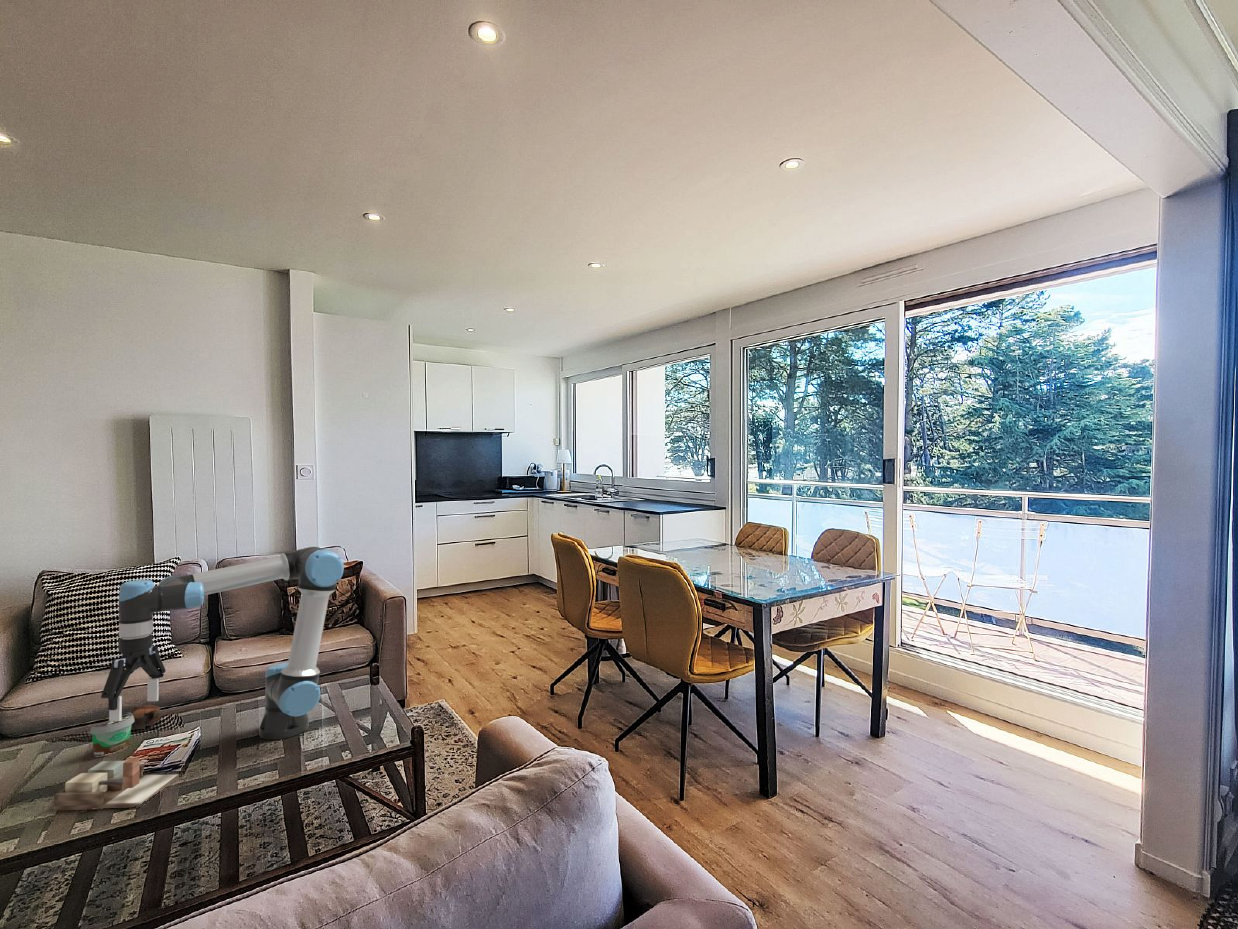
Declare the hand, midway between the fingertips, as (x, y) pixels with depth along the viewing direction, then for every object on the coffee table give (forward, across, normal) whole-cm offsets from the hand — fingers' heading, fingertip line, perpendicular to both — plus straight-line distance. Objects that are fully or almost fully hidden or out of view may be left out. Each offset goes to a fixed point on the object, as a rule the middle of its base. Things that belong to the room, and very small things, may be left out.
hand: (134, 710), depth 167 cm
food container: (+23, -24, -24) cm, 41 cm away
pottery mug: (+23, -42, -28) cm, 56 cm away
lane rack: (+23, +1, -3) cm, 23 cm away
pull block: (+21, +5, -4) cm, 22 cm away
